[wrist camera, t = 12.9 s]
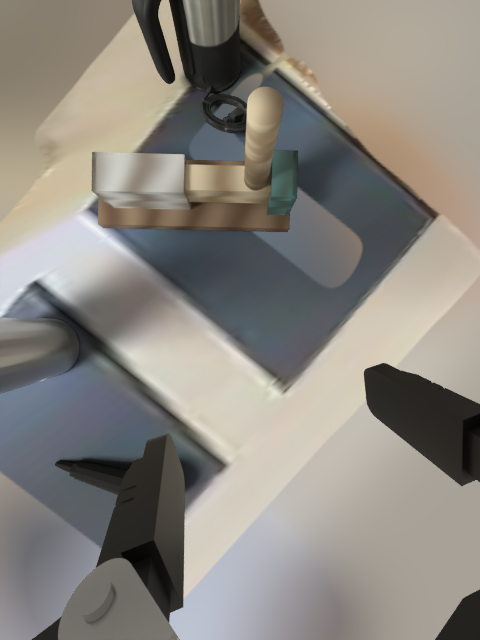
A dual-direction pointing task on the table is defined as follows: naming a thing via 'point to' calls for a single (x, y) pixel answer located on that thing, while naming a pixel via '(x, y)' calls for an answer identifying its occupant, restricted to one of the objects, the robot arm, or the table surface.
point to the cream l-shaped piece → (259, 150)
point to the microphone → (95, 474)
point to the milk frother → (200, 51)
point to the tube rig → (184, 194)
